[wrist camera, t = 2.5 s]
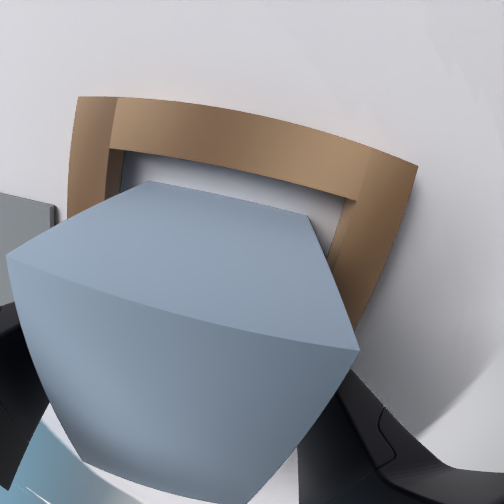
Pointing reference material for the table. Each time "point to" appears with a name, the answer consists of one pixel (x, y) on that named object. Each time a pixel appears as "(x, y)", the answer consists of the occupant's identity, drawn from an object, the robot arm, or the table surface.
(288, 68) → the table surface
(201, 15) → the table surface
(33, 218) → the pad
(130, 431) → the part block
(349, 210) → the frame
